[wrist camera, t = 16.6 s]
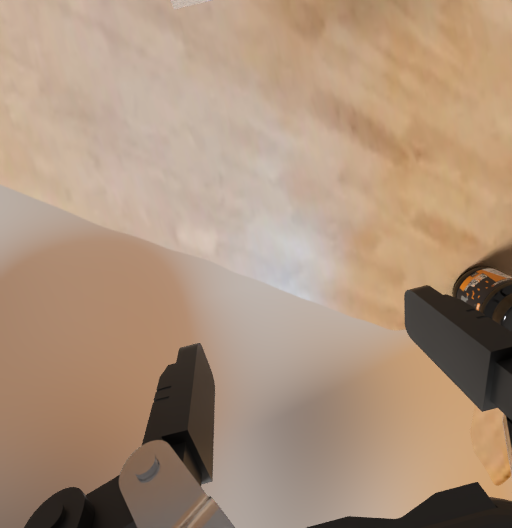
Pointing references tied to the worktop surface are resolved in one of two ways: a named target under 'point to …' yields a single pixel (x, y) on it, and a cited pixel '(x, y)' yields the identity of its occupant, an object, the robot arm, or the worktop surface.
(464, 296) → the supplement container
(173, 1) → the brushed metal block
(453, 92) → the worktop surface
